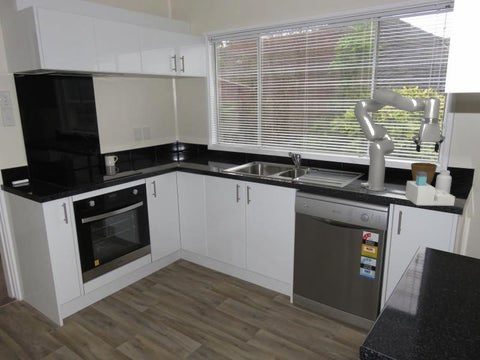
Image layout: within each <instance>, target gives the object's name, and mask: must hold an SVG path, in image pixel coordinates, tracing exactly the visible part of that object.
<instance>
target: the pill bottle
mask: <svg viewBox="0 0 480 360" xmlns="http://www.w3.org/2000/svg"><path fill="white" fill-rule="evenodd" d="M450 173H451V171H450V170H446V169H440V170H439V174H437V175H436V181H435V187H434V188H435V189H441V190H443V191H445V192H447V193H449V194H451V186H452V180H453V179H452V176H451V175H450Z"/></svg>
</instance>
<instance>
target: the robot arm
mask: <svg viewBox="0 0 480 360" xmlns="http://www.w3.org/2000/svg"><path fill="white" fill-rule="evenodd" d="M386 106H388V107H392V108H395V109H398V110H400V111H404V112H409V113H417V112H419V113H420V112H423V116H422V119H420V127H419V131H418V133H417V134H416V135H414V136H412V139H411V140H412V141H413V143H414V144H415V145H416V147H415V151H416V152H417V153H420V152H421V144H423V143H435V144H434V149H433V151H434V153H439V150H440V146H441V144H442V143H443V142H444V140H445V139H446V136H444V135H442V134H441V125H440V123H439V117H440V108H441V99H440V98H423V97H420V98H419V97H416V98H415V97H414V98H413V97H408V96H404V95H402V94H401V93H400V92H397V91H393V90H392V89H389V88H388V89H387V88H385V89H377V90H375V91H374V92H373V94H372V98H370V99H369V98H368V99H365V98H364V99H360V100H359V101H357V102H356V103H355V105H354V107H353V108H354V109H353V112H354V117H355V119H356V120H357V122H358V124H359V126H360V128H361V131H362V133H363V135H364V137H365V139H366V140H367V141H369V142H372V143H370V145H369V147H368V153H369V168H368V180H367V181H366V182H360V186H362V187H365V189H366V190H368V191H372V192H383V191H386V189H387V188H386V186H384V185H385V184H384V183H385V171H386V158H385V156H386V155H390V154H392V153H393V152H394V151H395V144H394V142H393V139H392V137H391V136H390V133H389V131H388V130H387V128H386V127H385V126H383V125H377V124H375V122H374V119H373V118H372V117H371V115H370V114H369V113H374V112H378V111H380V110H382V109H383V108H384V107H386ZM417 139H418V140H417ZM373 141H374V142H373Z"/></svg>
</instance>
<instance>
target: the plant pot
mask: <svg viewBox="0 0 480 360" xmlns="http://www.w3.org/2000/svg"><path fill="white" fill-rule="evenodd" d="M410 166H411V167H410V168H411V169H410V171H411V175H412V177H411V178H412V181H416V175H417V172H426V173H427V179H426V183H427V184H429V185H431V183H432V182H433V180H434V178H435V177H434V176H435V174H436V170H437V167H438V165H437V164H436V163H433V162H432V163H431V162H412V163H411V164H410Z"/></svg>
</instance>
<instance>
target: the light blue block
mask: <svg viewBox="0 0 480 360" xmlns="http://www.w3.org/2000/svg"><path fill="white" fill-rule="evenodd" d="M426 179H427V173H426V172H417V175H416V185H418V186H426Z"/></svg>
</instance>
